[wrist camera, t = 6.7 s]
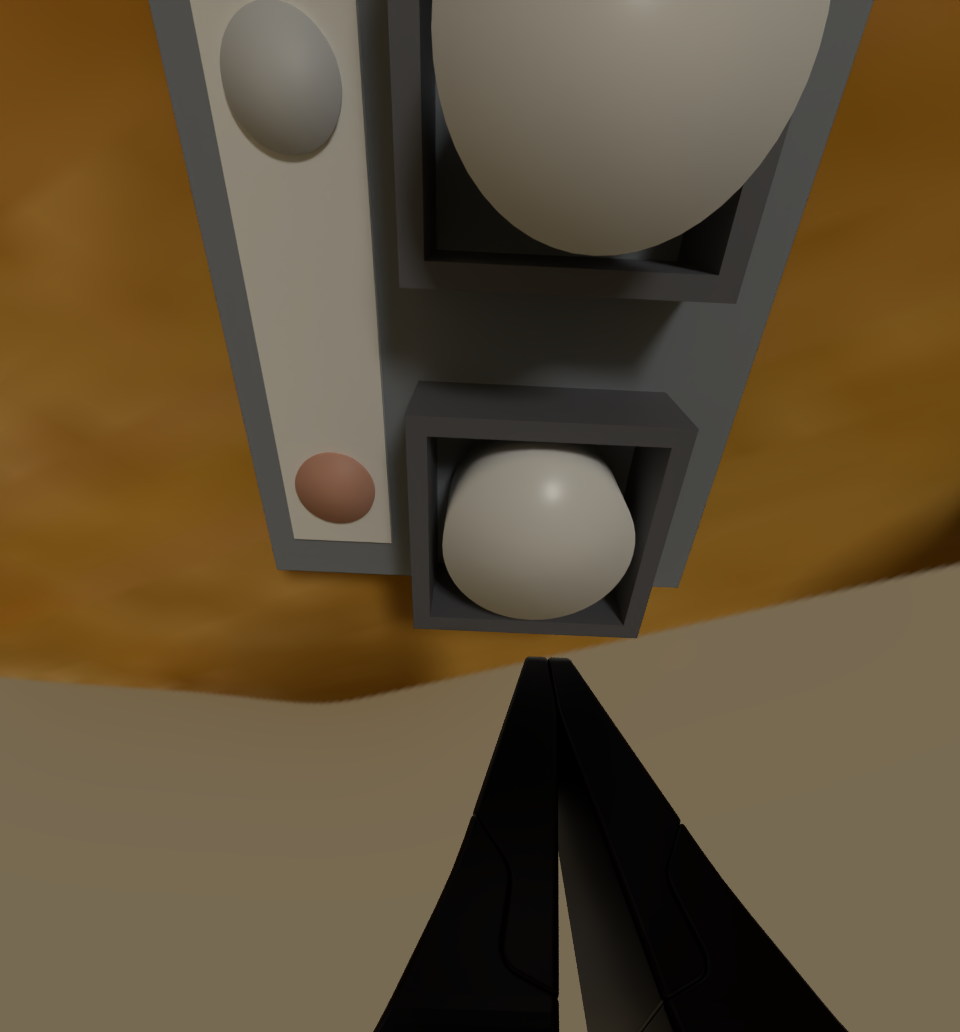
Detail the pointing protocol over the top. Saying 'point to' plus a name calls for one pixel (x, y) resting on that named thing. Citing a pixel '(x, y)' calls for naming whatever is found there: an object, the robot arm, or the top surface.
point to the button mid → (618, 107)
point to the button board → (453, 299)
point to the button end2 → (536, 528)
